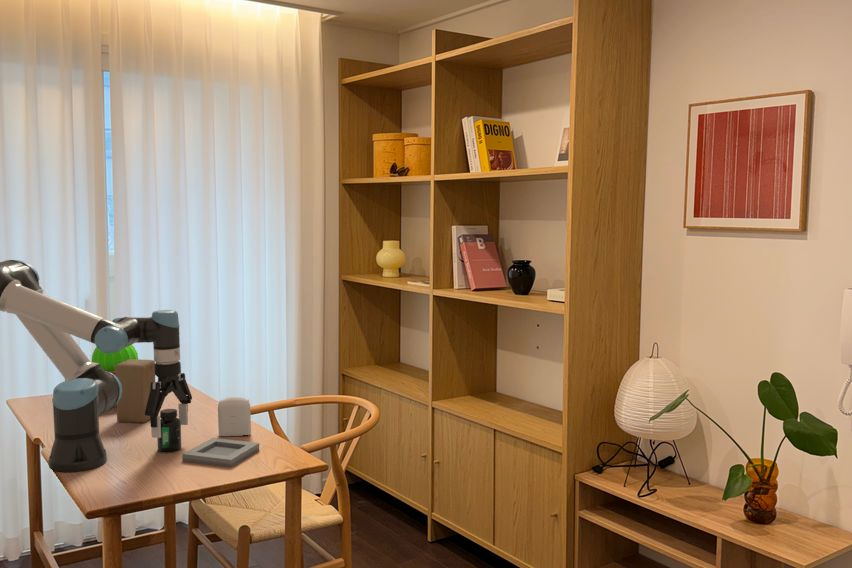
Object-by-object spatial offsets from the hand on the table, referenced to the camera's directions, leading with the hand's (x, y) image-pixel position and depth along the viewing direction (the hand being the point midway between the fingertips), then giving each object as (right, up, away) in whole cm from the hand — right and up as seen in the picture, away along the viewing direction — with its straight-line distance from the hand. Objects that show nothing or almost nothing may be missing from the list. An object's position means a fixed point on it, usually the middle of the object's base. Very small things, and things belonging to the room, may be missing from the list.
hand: (170, 430), depth 235 cm
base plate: (+17, -6, -5) cm, 19 cm away
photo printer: (+16, -5, +16) cm, 22 cm away
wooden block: (-22, -2, +32) cm, 39 cm away
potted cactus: (-38, 0, +55) cm, 67 cm away
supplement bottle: (0, -6, +1) cm, 6 cm away
